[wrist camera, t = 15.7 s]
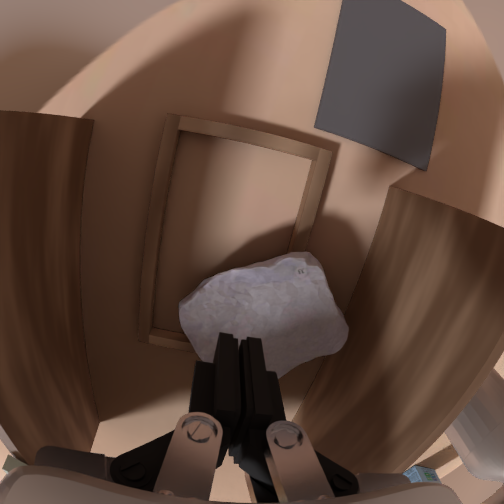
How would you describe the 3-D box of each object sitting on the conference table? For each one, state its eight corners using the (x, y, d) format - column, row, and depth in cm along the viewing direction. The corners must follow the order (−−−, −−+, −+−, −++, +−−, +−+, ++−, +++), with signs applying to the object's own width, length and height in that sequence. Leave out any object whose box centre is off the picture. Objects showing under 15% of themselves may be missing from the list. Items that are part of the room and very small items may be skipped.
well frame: (405, 180, 22) (553, 232, 8) (285, 448, 34) (304, 539, 19) (81, 107, 17) (-70, 89, 3) (89, 419, 29) (61, 509, 15)
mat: (443, 30, 16) (446, 29, 16) (423, 170, 22) (426, 171, 21) (347, -23, 15) (348, -25, 14) (313, 127, 20) (315, 127, 20)
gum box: (398, 474, 46) (427, 542, 25) (416, 463, 45) (448, 531, 24) (421, 477, 52) (446, 531, 30) (435, 468, 51) (462, 521, 29)
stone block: (172, 289, 24) (228, 378, 25) (156, 307, 19) (226, 410, 21) (298, 223, 23) (344, 323, 25) (312, 227, 19) (363, 346, 20)
